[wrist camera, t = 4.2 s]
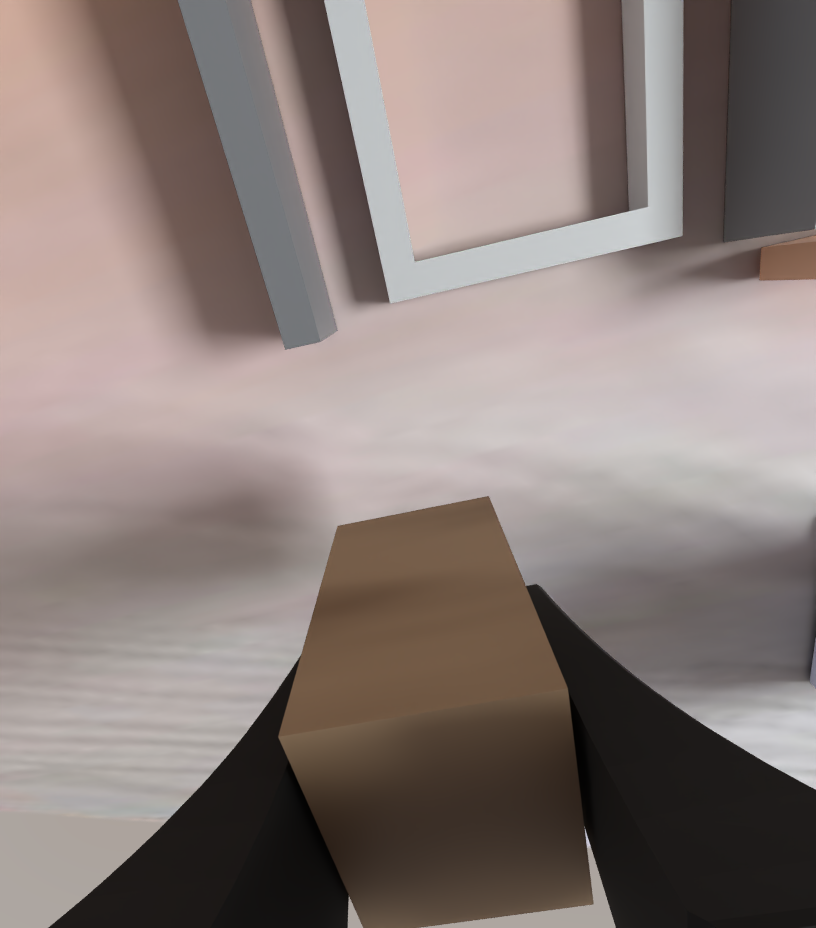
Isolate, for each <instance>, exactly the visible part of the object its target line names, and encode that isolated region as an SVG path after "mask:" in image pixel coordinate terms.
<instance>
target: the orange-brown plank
mask: <svg viewBox="0 0 816 928" xmlns="http://www.w3.org/2000/svg"><path fill="white" fill-rule="evenodd" d="M800 279H816V235H815V236H810V237H806V238H802V239H797V240H793V241H788V242H784V243H780V244H775V245H771V246H766V247H762V248H761V261H760V278H759V280H800Z"/></svg>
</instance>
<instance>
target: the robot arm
mask: <svg viewBox="0 0 816 928" xmlns="http://www.w3.org/2000/svg"><path fill="white" fill-rule="evenodd" d="M526 588H527V590H528V593H529V595H530V598H531V600H532V603H533V605H534V607H535V610H536V612H537V615H538V617H539V620H540V622H541V624H542V627H543V629H544V632H545V634H546V637H547V639H548V641H549V644H550V646H551V649H552V651H553V654H554V656H555V658H556V661H557V663H558V666H559V668H560V671H561V673H562V675H563V678H564V680H565V683H566V685H567V688H568V694H569V702H570V711H571V719H572V727H573V736H574V744H575V753H576V761H577V769H578V778H579V786H580V795H581V803H582V811H583V820H584V826H585V829H586V833H587V836H588V839H589V842H590V845H591V849H592V852H593V855H594V858H595V861H596V864H597V868H598V871H599V874H600V877H601V880H602V884H603V887H604V890H605V893H606V897H607V900H608V903H609V906H610V910H611V912H612V916H613V919H614V923H615V926H616V928H816V790H815V789H813V788H811V787H809V786H807V785H806V784H804V783H802V782H800V781H798V780H796V779H795V778H793V777H791V776H789V775H787V774H785V773H784V772H782V771H780V770H778V769H776V768H774V767H773V766H771V765H769V764H767V763H765V762H764V761H762V760H760V759H759V758H757V757H755V756H754V755H752V754H750V753H749V752H747V751H745V750H744V749H742V748H740V747H739V746H737V745H735V744H734V743H732V742H730V741H729V740H727V739H726V738H724V737H722V736H721V735H719V734H717V733H716V732H714V731H712V730H711V729H709V728H707V727H706V726H704V725H703V724H701V723H700V722H698V721H697V720H695V719H694V718H692V717H691V716H689V715H688V714H686V713H685V712H684V711H682V710H681V709H679V708H678V707H676V706H675V705H673V704H672V703H671V702H669V701H668V700H666V699H665V698H664V697H662V696H661V695H659V694H658V693H657V692H655V691H654V690H653V689H651V688H650V687H649V686H647V685H646V684H645V683H643V682H642V681H641V680H639V679H638V678H637V677H636V676H634V675H633V674H632V673H631V672H629V671H628V670H627V669H626V668H625V667H623V666H622V665H621V664H620V663H618V662H617V661H616V660H615V659H614V658H612V657H611V656H610V655H609V654H608V653H607V652H606V651H604V650H603V649H602V648H601V647H600V646H599V645H598V644H597V643H596V642H594V641H593V640H592V639H591V638H590V637H589V636H588V635H587V634H586V633H585V632H584V631H582V630H581V629H580V628H579V627H578V626H577V625H576V624H575V623H574V622H573V621H572V620H571V619H570V618H569V617H568V616H567V615H566V614H565V613H564V612H563V611H562V610H561V609H560V608H559V606H558V605H557V604H556V603H555V602H554V601H553V600H552V599H551V598H550V597H549V595H548V594H547V593H546V592H545V591H544V590H543V588H542V587H540V586H539V585H537V584H536V585H530V586H526ZM300 658H301V656H300V657H299V659H298V660H297V662H296V663H295V665H294V667H293V668H292V670H291V671H290V673H289V674H288V675H287V677H286V678H285V680H284V681H283V683H282V684H281V686H280V687H279V689H278V690H277V692H276V693H275V695H274V696H273V697H272V699H271V700H270V702H269V703H268V704H267V706H266V707H265V708H264V710H263V711H262V712H261V714H260V715H259V716H258V718H257V719H256V720H255V722H254V723H253V725H252V726H251V727H250V729H249V730H248V731H247V733H246V734H245V735H244V736H243V738H242V739H241V740H240V741H239V743H238V744H237V745H236V746H235V748H234V749H233V750H232V751H231V752H230V754H229V755H228V756H227V757H226V758H225V759H224V761H223V762H222V763H221V764H220V765H219V766H218V767H217V769H216V770H215V771H214V772H213V773H212V774H211V775H210V777H209V778H208V779H207V780H206V781H205V782H204V783H203V784H202V785H201V787H200V788H199V789H198V790H197V791H196V792H195V793H194V794H193V795H192V796H191V797H190V798H189V799H188V800H187V801H186V802H185V803H184V804H183V805H182V806H181V807H180V808H179V809H178V810H177V811H176V812H175V813H174V814H173V815H172V817H171V818H170V819H169V820H168V821H167V822H166V823H165V824H164V825H163V826H162V827H161V828H160V829H159V830H158V831H157V832H156V833H155V834H154V835H153V836H152V837H151V838H150V839H149V840H147V841H146V842H145V843H144V844H143V845H142V846H141V847H140V848H139V849H138V850H137V851H136V852H135V853H134V854H133V855H132V856H131V857H130V858H128V859H127V860H126V861H125V862H124V863H123V864H122V865H121V866H120V867H119V868H117V869H116V870H115V871H114V872H113V873H112V874H111V875H110V876H109V877H107V878H106V879H105V880H104V881H103V882H102V883H101V884H100V885H99V886H98V887H96V888H95V889H94V890H93V891H92V892H91V893H89V894H88V895H87V896H86V897H85V898H84V899H82V900H81V901H80V902H79V903H78V904H76V905H75V906H74V907H73V908H72V909H70V910H69V911H68V912H67V913H66V914H64V915H63V916H62V917H61V918H60V919H58V920H57V921H56V922H55V923H54V924H52V925H51V926H50V927H49V928H347V927H348V900H349V899H348V898H349V894H348V892H347V890H346V888H345V885H344V883H343V881H342V879H341V876H340V874H339V872H338V870H337V867H336V865H335V863H334V861H333V859H332V856H331V854H330V852H329V850H328V847H327V845H326V843H325V841H324V838H323V836H322V834H321V832H320V829H319V827H318V825H317V823H316V820H315V818H314V816H313V814H312V811H311V809H310V807H309V805H308V802H307V800H306V798H305V796H304V794H303V791H302V789H301V787H300V785H299V782H298V780H297V778H296V776H295V773H294V771H293V769H292V767H291V764H290V762H289V760H288V758H287V755H286V753H285V751H284V749H283V746H282V744H281V742H280V740H279V737H278V736H279V732H280V729H281V725H282V721H283V718H284V714H285V711H286V707H287V704H288V700H289V697H290V693H291V690H292V686H293V682H294V679H295V675H296V672H297V668H298V665H299V661H300ZM810 683H811V684H812V685H813V686H814V687H815V688H816V639H815V647H814V654H813V661H812V668H811V675H810Z"/></svg>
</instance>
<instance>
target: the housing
mask: <svg viewBox="0 0 816 928" xmlns="http://www.w3.org/2000/svg"><path fill="white" fill-rule="evenodd" d="M324 2H325V7H326V12H327V16H328V21H329V25H330V30H331V35H332V39H333V44H334V48H335V53H336V57H337V62H338V67H339V71H340V76H341V80H342V85H343V90H344V94H345V99H346V103H347V108H348V113H349V117H350V122H351V126H352V131H353V135H354V140H355V145H356V149H357V154H358V158H359V163H360V168H361V172H362V177H363V181H364V186H365V190H366V195H367V200H368V204H369V209H370V213H371V218H372V223H373V227H374V232H375V236H376V241H377V246H378V250H379V255H380V259H381V264H382V268H383V273H384V278H385V282H386V287H387V291H388V296H389V301H390V304H391V303H395V302H399V301H403V300H408V299H412V298H416V297H421V296H425V295H429V294H434V293H438V292H442V291H447V290H451V289H455V288H460V287H464V286H468V285H473V284H477V283H481V282H486V281H490V280H494V279H499V278H503V277H507V276H512V275H516V274H520V273H525V272H529V271H533V270H538V269H542V268H546V267H551V266H555V265H559V264H564V263H568V262H572V261H577V260H581V259H585V258H590V257H594V256H598V255H603V254H607V253H611V252H616V251H620V250H624V249H629V248H633V247H637V246H642V245H646V244H650V243H655V242H659V241H663V240H668V239H672V238H676V237H680V236H683V0H622V27H623V55H624V84H625V112H626V141H627V170H628V198H629V212H624V213H620V214H616V215H612V216H607V217H603V218H599V219H595V220H591V221H586V222H582V223H578V224H574V225H569V226H565V227H561V228H557V229H552V230H548V231H544V232H540V233H535V234H531V235H527V236H523V237H519V238H514V239H510V240H506V241H502V242H497V243H493V244H489V245H485V246H480V247H476V248H472V249H468V250H464V251H459V252H455V253H451V254H447V255H442V256H438V257H434V258H430V259H425V260H421V261H417V262H415V260H414V255H413V250H412V245H411V240H410V234H409V229H408V224H407V219H406V214H405V209H404V203H403V198H402V193H401V188H400V183H399V178H398V172H397V167H396V162H395V157H394V152H393V146H392V141H391V136H390V131H389V126H388V121H387V115H386V110H385V105H384V100H383V95H382V90H381V84H380V79H379V74H378V69H377V64H376V59H375V53H374V48H373V43H372V38H371V33H370V28H369V22H368V17H367V12H366V7H365V2H364V0H324ZM178 3H179V6H180V9H181V12H182V16H183V19H184V22H185V25H186V29H187V32H188V35H189V38H190V42H191V45H192V48H193V51H194V55H195V58H196V61H197V64H198V68H199V71H200V74H201V77H202V81H203V84H204V87H205V90H206V94H207V97H208V100H209V103H210V107H211V110H212V113H213V116H214V120H215V123H216V126H217V129H218V133H219V136H220V139H221V142H222V146H223V149H224V152H225V155H226V159H227V162H228V165H229V168H230V172H231V175H232V178H233V181H234V185H235V188H236V191H237V194H238V198H239V201H240V204H241V207H242V210H243V214H244V217H245V220H246V223H247V227H248V230H249V233H250V236H251V240H252V243H253V246H254V249H255V253H256V256H257V259H258V262H259V266H260V269H261V272H262V275H263V279H264V282H265V285H266V288H267V292H268V295H269V298H270V301H271V305H272V308H273V311H274V314H275V318H276V321H277V324H278V327H279V331H280V334H281V337H282V340H283V344H284V347H285V350H287V349H291V348H295V347H300V346H304V345H309V344H313V343H317V342H321V341H323V340H324V339H326V338H327V337H329V336H330V335H332V334H333V333H335V332H336V331H338V330H337V326H336V323H335V319H334V315H333V311H332V307H331V304H330V300H329V296H328V292H327V288H326V285H325V281H324V277H323V273H322V269H321V266H320V262H319V258H318V254H317V250H316V247H315V243H314V239H313V235H312V231H311V228H310V224H309V220H308V216H307V212H306V209H305V205H304V201H303V197H302V193H301V190H300V186H299V182H298V178H297V174H296V171H295V167H294V163H293V159H292V155H291V152H290V148H289V144H288V140H287V136H286V133H285V129H284V125H283V121H282V117H281V114H280V110H279V106H278V102H277V98H276V95H275V91H274V87H273V83H272V79H271V76H270V72H269V68H268V64H267V60H266V57H265V53H264V49H263V45H262V41H261V38H260V34H259V30H258V26H257V22H256V19H255V15H254V11H253V7H252V3H251V0H178ZM812 229H816V0H732V6H731V36H730V67H729V97H728V128H727V158H726V189H725V219H724V242H729V241H736V240H743V239H750V238H757V237H764V236H771V235H778V234H785V233H792V232H799V231H805V230H812Z"/></svg>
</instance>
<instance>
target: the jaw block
mask: <svg viewBox="0 0 816 928" xmlns="http://www.w3.org/2000/svg"><path fill="white" fill-rule="evenodd" d="M278 737H279V740H280V742H281V744H282V746H283V749H284V751H285V753H286V755H287V758H288V760H289V762H290V764H291V767H292V769H293V771H294V773H295V776H296V778H297V780H298V782H299V785H300V787H301V789H302V791H303V794H304V796H305V798H306V800H307V802H308V805H309V807H310V809H311V811H312V814H313V816H314V818H315V820H316V823H317V825H318V827H319V829H320V832H321V834H322V836H323V838H324V841H325V843H326V845H327V847H328V850H329V852H330V854H331V856H332V859H333V861H334V863H335V865H336V867H337V870H338V872H339V874H340V876H341V879H342V881H343V883H344V885H345V888H346V890H347V892H348V894H349V897H350V899H351V901H352V903H353V906H354V908H355V910H356V912H357V915H358V917H359V919H360V921H361V924H362V926H363V928H420V927H426V926H435V925H442V924H450V923H457V922H464V921H472V920H480V919H487V918H495V917H502V916H510V915H517V914H524V913H532V912H540V911H547V910H555V909H562V908H569V907H577V906H585V905H592V904H593V895H592V887H591V878H590V870H589V862H588V854H587V845H586V836H585V828H584V820H583V811H582V803H581V795H580V786H579V778H578V769H577V761H576V753H575V744H574V736H573V727H572V719H571V711H570V702H569V694H568V688H567V685H566V683H565V680H564V678H563V675H562V673H561V671H560V668H559V666H558V663H557V661H556V658H555V656H554V654H553V651H552V649H551V646H550V644H549V641H548V639H547V637H546V634H545V632H544V629H543V627H542V624H541V622H540V620H539V617H538V615H537V612H536V610H535V607H534V605H533V603H532V600H531V598H530V595H529V593H528V590H527V588H526V586H525V583H524V581H523V578H522V576H521V573H520V571H519V569H518V566H517V564H516V561H515V559H514V556H513V554H512V552H511V549H510V547H509V544H508V542H507V539H506V537H505V535H504V532H503V530H502V527H501V525H500V522H499V520H498V518H497V515H496V513H495V510H494V508H493V505H492V503H491V500H490V498H489V496H487V497H482V498H477V499H472V500H467V501H462V502H457V503H452V504H447V505H441V506H436V507H431V508H426V509H421V510H416V511H411V512H406V513H401V514H396V515H391V516H386V517H381V518H376V519H371V520H366V521H361V522H356V523H351V524H345V525H340V526H338V527H337V530H336V534H335V537H334V541H333V544H332V548H331V551H330V555H329V558H328V562H327V566H326V569H325V573H324V576H323V580H322V583H321V587H320V590H319V594H318V597H317V601H316V605H315V608H314V612H313V615H312V619H311V622H310V626H309V629H308V633H307V636H306V640H305V643H304V647H303V651H302V654H301V658H300V661H299V665H298V668H297V672H296V675H295V679H294V682H293V686H292V690H291V693H290V697H289V700H288V704H287V707H286V711H285V714H284V718H283V721H282V725H281V729H280V732H279V736H278Z"/></svg>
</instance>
